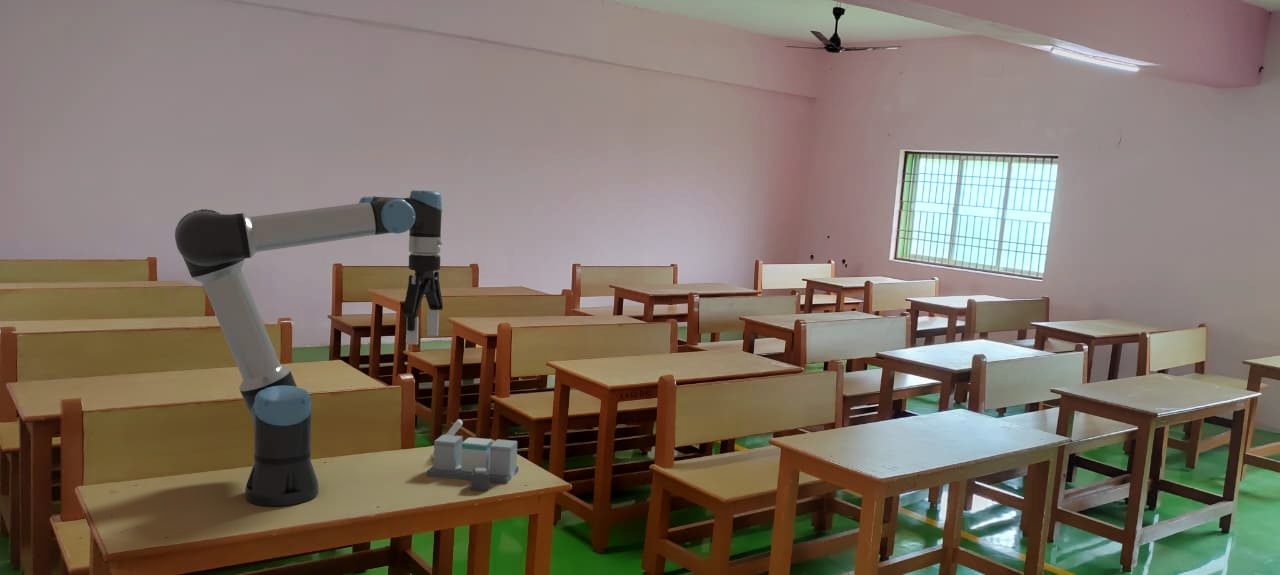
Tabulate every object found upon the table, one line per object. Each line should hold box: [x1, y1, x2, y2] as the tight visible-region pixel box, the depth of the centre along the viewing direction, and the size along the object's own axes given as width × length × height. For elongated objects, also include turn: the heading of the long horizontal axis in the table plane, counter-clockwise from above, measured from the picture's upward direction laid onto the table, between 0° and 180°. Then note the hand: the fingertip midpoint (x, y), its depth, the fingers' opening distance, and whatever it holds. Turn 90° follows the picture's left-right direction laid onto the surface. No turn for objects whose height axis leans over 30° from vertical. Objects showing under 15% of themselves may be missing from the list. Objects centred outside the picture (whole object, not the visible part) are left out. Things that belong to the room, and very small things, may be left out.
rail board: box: [426, 434, 519, 484], centre depth 227 cm, size 20×10×8 cm, turn 82°
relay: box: [470, 468, 490, 492], centre depth 217 cm, size 4×4×5 cm
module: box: [461, 437, 493, 472], centre depth 227 cm, size 6×5×7 cm
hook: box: [431, 418, 464, 459], centre depth 240 cm, size 8×12×7 cm
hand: (422, 339), depth 229 cm, fingers open, 13 cm apart
